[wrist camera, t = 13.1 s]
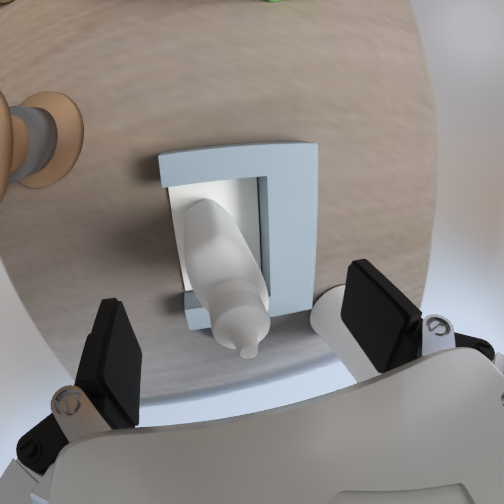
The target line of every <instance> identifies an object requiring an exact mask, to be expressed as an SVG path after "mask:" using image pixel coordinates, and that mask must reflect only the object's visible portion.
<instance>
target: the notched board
mask: <svg viewBox="0 0 504 504" xmlns="http://www.w3.org/2000/svg"><path fill="white" fill-rule="evenodd" d="M158 159H159V167H160V175H161V183H162V188H166V187H168V190H169V197H170V204H171V211H172V218H173V224H174V230H175V236H176V242H177V248H178V254H179V259H180V265H181V270H182V275H183V280H184V285H185V290H186V291H187V292H184V306H185V314H186V318H187V322H188V327H189V330H196V329H203V328H210V327H211V322H210V316H209V312H208V311H207V310H206V309H205V308H204V307H203V306H202V304H201V303H200V302H199V300H198V298H197V297H196V295H195V293H194V291H189V290H193V289H192V287H191V284H190V281H189V278H188V275H187V271H186V265H185V258H184V218H185V213H186V211H187V210H188V209H190V208H191V207H193V206H194V205H196V204H198V203H200V202H201V201H203V200H206V199H211V200H214V201H215V202H217V203H218V204H220V205H221V206H222V207H223V208H224V209H225V210H226V211H227V212H228V213H229V214H230V215H231V217H232V218H233V219H234V221H235V222H236V224H237V226H238V228H239V230H240V231H241V233H242V235H243V237H244V239H245V241H246V243H247V245H248V247H249V249H250V251H251V253H252V255H253V257H254V259H255V261H256V263H257V265H258V267H259V269H260V271H261V259H260V236H259V214H258V193H257V177H258V184H259V206H260V228H261V252H262V276H263V278H264V280H265V283H266V287H267V291H268V299H269V306H268V311H267V313H268V315H269V317H275V316H280V315H285V314H290V313H295V312H299V311H304V310H309V309H312V302H313V289H314V275H315V259H316V238H317V210H318V143H313V142H306V141H282V142H259V143H243V144H230V145H219V146H209V147H200V148H192V149H184V150H177V151H170V152H163V153H161V154H160V155H159V156H158Z"/></svg>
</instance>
